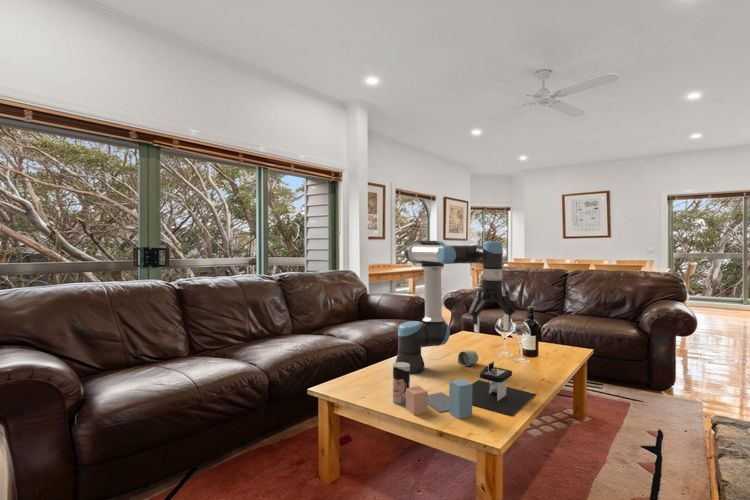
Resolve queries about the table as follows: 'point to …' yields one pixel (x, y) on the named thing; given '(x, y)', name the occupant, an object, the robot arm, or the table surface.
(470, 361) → the ceramic mug
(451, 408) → the slate-blue block
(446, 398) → the charcoal mat
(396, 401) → the white patterned canister
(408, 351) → the robot arm
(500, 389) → the black-topped pedestal
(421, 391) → the terracotta block
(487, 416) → the table surface
